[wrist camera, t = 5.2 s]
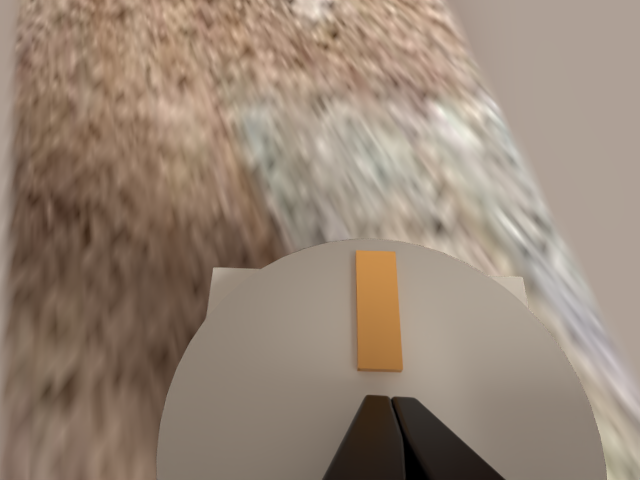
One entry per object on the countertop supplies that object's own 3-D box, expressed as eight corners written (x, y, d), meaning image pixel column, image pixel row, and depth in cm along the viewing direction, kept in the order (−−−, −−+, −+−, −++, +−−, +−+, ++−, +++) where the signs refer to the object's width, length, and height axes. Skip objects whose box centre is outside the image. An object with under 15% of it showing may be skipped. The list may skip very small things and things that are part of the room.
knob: (496, 630, 13) (686, 743, 6) (202, 625, 12) (101, 734, 6) (459, 345, 16) (556, 240, 10) (234, 338, 16) (190, 228, 10)
